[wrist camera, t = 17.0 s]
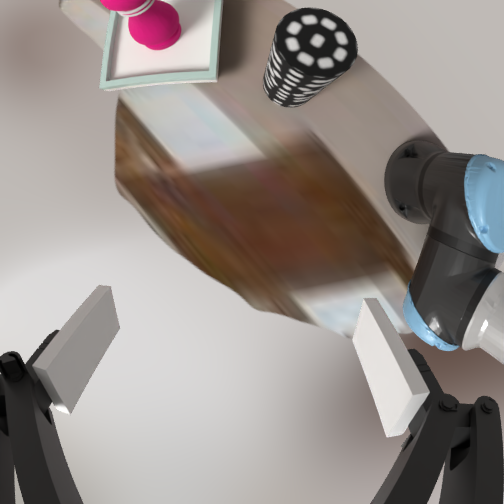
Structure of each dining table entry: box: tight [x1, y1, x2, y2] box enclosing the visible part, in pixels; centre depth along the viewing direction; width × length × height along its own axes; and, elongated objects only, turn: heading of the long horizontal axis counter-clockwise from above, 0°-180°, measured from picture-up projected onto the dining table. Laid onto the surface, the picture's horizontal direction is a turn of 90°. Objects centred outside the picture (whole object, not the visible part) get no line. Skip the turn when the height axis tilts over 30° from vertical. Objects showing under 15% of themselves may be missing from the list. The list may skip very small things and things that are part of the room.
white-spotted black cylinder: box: [263, 8, 358, 107], centre depth 32 cm, size 8×8×20 cm
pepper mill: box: [100, 0, 181, 50], centre depth 25 cm, size 7×7×20 cm
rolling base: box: [100, 0, 223, 91], centre depth 35 cm, size 18×18×6 cm
